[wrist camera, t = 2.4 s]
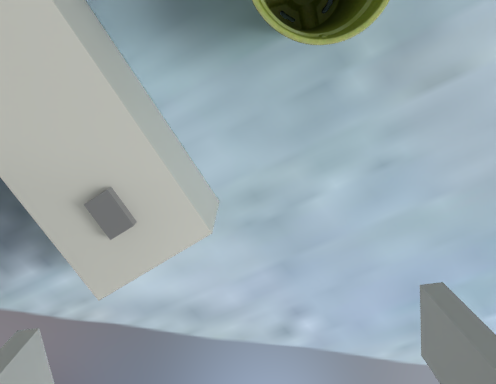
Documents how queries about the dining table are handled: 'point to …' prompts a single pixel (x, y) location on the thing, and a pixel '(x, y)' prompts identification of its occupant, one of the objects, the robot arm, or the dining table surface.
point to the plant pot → (320, 18)
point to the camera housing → (92, 148)
